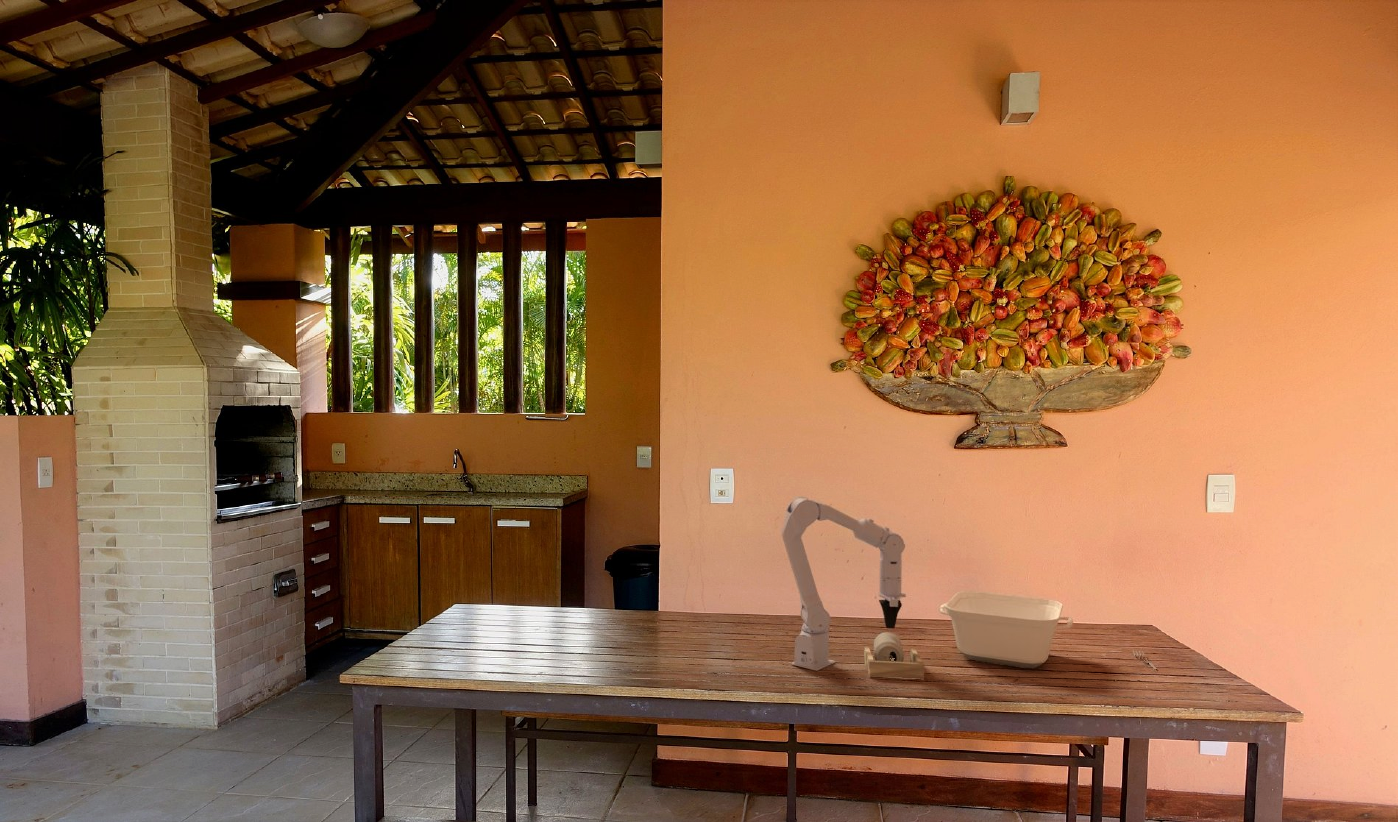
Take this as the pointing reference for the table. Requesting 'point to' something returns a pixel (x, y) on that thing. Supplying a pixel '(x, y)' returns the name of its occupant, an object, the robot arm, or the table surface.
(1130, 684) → the table surface
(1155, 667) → the fork
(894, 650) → the can
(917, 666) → the tray
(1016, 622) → the pot
